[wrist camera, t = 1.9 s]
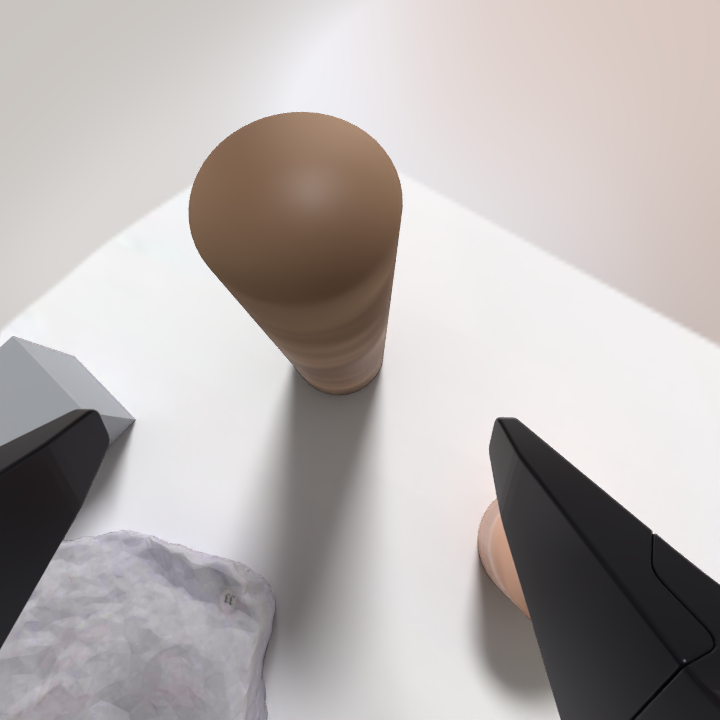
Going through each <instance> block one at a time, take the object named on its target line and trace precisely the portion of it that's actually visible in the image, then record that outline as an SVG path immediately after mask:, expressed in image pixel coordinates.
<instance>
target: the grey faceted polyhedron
mask: <svg viewBox="0 0 720 720" xmlns="http://www.w3.org/2000/svg"><path fill="white" fill-rule="evenodd" d="M75 409H95V410H97V411H98V412H99V413H100V415H101V418H102V420H103V422H104V424H105V427H106V429H107V431H108V434H109V437H110V442H109V446H110V445H111V444H112V443H113V442H114V441H115V440H116V439H117V438H118V437H119V436H120V435H121V434H122V433H123V432H124V431H125V430H126V429H127V428H128V427H129V426H130V425H131V424H132V423H133V422H134V421H135V420H136V419H135V418H134V417H133V416H132V415H131V414H130V413H129V412H128V411H127V410H126V409H125V408H124V407H123V406H122V405H121V404H120V403H119V402H118V401H117V400H116V399H115V398H114V397H113V396H112V395H111V394H110V393H109V391H108V390H107V389H106V388H105V387H104V386H103V385H102V384H101V383H100V382H99V381H98V380H97V379H96V378H95V377H94V376H93V375H92V374H91V373H90V372H89V371H88V370H87V369H86V368H85V367H84V366H83V365H82V364H81V363H80V362H79V360H78V359H77V358H76V357H75V356H72V355H69V354H66V353H63V352H60V351H57V350H54V349H51V348H48V347H45V346H42V345H39V344H36V343H33V342H30V341H27V340H24V339H21V338H18V337H15V336H12V337H11V338H10V339H9V340H8V341H7V342H6V343H4V344H3V345H2V346H1V347H0V446H2V445H4V444H6V443H8V442H10V441H12V440H14V439H16V438H18V437H20V436H22V435H24V434H26V433H28V432H30V431H32V430H34V429H36V428H38V427H40V426H42V425H44V424H46V423H48V422H50V421H52V420H54V419H56V418H58V417H60V416H62V415H64V414H66V413H68V412H70V411H72V410H75ZM109 446H108V447H109Z"/></svg>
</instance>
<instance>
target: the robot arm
mask: <svg viewBox="0 0 720 720" xmlns="http://www.w3.org/2000/svg"><path fill="white" fill-rule="evenodd" d="M109 442H110V437H109V434H108V431H107V429H106V427H105V424H104V422H103V420H102V418H101V415H100V413H99V412H98V411H97V410H95V409H75V410H72V411H70V412H68V413H66V414H64V415H62V416H60V417H58V418H56V419H54V420H52V421H50V422H48V423H46V424H44V425H42V426H40V427H38V428H36V429H34V430H32V431H30V432H28V433H26V434H24V435H22V436H20V437H18V438H16V439H14V440H12V441H10V442H8V443H6V444H4V445H2V446H0V649H1V648H2V646H3V644H4V642H5V641H6V639H7V637H8V635H9V634H10V632H11V630H12V628H13V627H14V625H15V623H16V621H17V620H18V618H19V616H20V614H21V613H22V611H23V609H24V607H25V606H26V604H27V602H28V600H29V599H30V597H31V595H32V593H33V592H34V590H35V588H36V586H37V584H38V583H39V581H40V579H41V577H42V576H43V574H44V572H45V570H46V569H47V567H48V565H49V563H50V562H51V560H52V558H53V556H54V555H55V553H56V551H57V549H58V548H59V546H60V544H61V542H62V541H63V539H64V537H65V535H66V534H67V532H68V530H69V528H70V527H71V525H72V523H73V521H74V520H75V518H76V516H77V514H78V512H79V510H80V509H81V507H82V505H83V503H84V500H85V498H86V496H87V494H88V492H89V490H90V487H91V485H92V483H93V481H94V478H95V476H96V474H97V472H98V469H99V467H100V465H101V462H102V460H103V458H104V456H105V453H106V451H107V449H108V446H109ZM489 455H490V461H491V466H492V472H493V478H494V484H495V489H496V495H497V501H498V506H499V512H500V517H501V521H502V524H503V528H504V531H505V535H506V538H507V541H508V545H509V548H510V551H511V555H512V558H513V561H514V565H515V568H516V571H517V575H518V578H519V582H520V585H521V588H522V592H523V595H524V598H525V602H526V605H527V608H528V612H529V615H530V618H531V622H532V625H533V628H534V632H535V635H536V638H537V642H538V645H539V648H540V652H541V655H542V658H543V662H544V665H545V668H546V672H547V675H548V678H549V682H550V685H551V688H552V692H553V695H554V698H555V702H556V705H557V708H558V712H559V715H560V718H561V720H720V584H718V583H717V582H716V581H714V580H713V579H712V578H710V577H709V576H708V575H706V574H705V573H704V572H703V571H701V570H700V569H699V568H698V567H696V566H695V565H694V564H693V563H691V562H690V561H689V560H688V559H686V558H685V557H684V556H683V555H681V554H680V553H679V552H678V551H676V550H675V549H674V548H673V547H671V546H670V545H669V544H668V543H667V542H665V541H664V540H663V539H662V538H661V537H659V536H658V535H657V534H653V532H652V530H651V529H650V528H648V527H647V526H646V525H645V524H643V523H642V522H641V521H640V520H639V519H637V518H636V517H635V516H634V515H633V514H631V513H630V512H629V511H628V510H627V509H625V508H624V507H623V506H622V505H621V504H619V503H618V502H617V501H616V500H615V499H613V498H612V497H611V496H610V495H608V494H607V493H606V492H605V491H604V490H602V489H601V488H600V487H599V486H598V485H596V484H595V483H594V482H593V481H592V480H590V479H589V478H588V477H587V476H586V475H584V474H583V473H582V472H581V471H580V470H578V469H577V468H576V467H575V466H573V465H572V464H571V463H570V462H569V461H567V460H566V459H565V458H564V457H563V456H561V455H560V454H559V453H558V452H557V451H555V450H554V449H553V448H552V447H551V446H549V445H548V444H547V443H546V442H545V441H543V440H542V439H541V438H540V437H538V436H537V435H536V434H535V433H534V432H532V431H531V430H530V429H529V428H528V427H526V426H525V425H524V424H523V423H522V422H520V421H519V420H518V419H516V418H511V417H499V418H497V419H496V420H495V423H494V427H493V431H492V436H491V440H490V445H489Z"/></svg>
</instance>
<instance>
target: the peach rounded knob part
mask: <svg viewBox="0 0 720 720" xmlns="http://www.w3.org/2000/svg"><path fill="white" fill-rule="evenodd" d="M478 549H479V555H480V558H481V561H482V564H483V566H484V568H485V570H486V572H487V574H488V575H489V577H490V578H491V579H492V581H493V582H494V583H495V584H496V585H497V586H498V587H499V588H500V589H501V590H502V591H503V592H504V593H505V594H506V595H507V597H508V598H509V599H510V600H511V601H512V602H513V603H514V604H515V605H516V606H517V607H518V608H519V609H520V610H521V611H522V612H523V613H524V614H525V615H526V616H527V617H528V618H529V619H530V620H531V618H530V615H529V612H528V608H527V605H526V602H525V598H524V595H523V592H522V588H521V585H520V582H519V578H518V575H517V571H516V568H515V565H514V561H513V558H512V555H511V551H510V548H509V545H508V541H507V538H506V535H505V531H504V528H503V524H502V521H501V517H500V512H499V506H498V501H497V499H496V500H495V501H493V502H492V504H491V505H490V506H489V507H488V509H487V510H486V512H485V513H484V515H483V517H482V520H481V523H480V526H479V531H478Z"/></svg>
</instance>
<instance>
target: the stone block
mask: <svg viewBox="0 0 720 720" xmlns="http://www.w3.org/2000/svg"><path fill="white" fill-rule="evenodd" d="M275 606H276V603H275V597H274V595H273V594H272V591H271V589H270V586H269V584H268V582H267V581H266V580H265V579H264V578H263V577H262V576H261V575H259V574H256V573H255V572H253V571H252V570H251V569H249V568H248V567H247V566H245V565H243V564H242V563H240V562H235V561H232V560H229V559H225V558H221V557H218V556H214V555H209V554H205V553H202V552H198V551H193V550H192V549H189V548H187V547H185V546H183V545H180V544H172V543H167V542H165V541H163V540H160V539H158V538H156V537H155V536H149V535H145V534H141V533H137V532H134V531H128V530H122V531H118V532H110V533H107V534H104V535H100V536H97V537H81V538H78V539H76V540H70V541H62V542H61V544H60V546H59V548H58V549H57V551H56V553H55V555H54V556H53V558H52V560H51V562H50V563H49V565H48V567H47V569H46V570H45V572H44V574H43V576H42V577H41V579H40V581H39V583H38V584H37V586H36V588H35V590H34V592H33V593H32V595H31V597H30V599H29V600H28V602H27V604H26V606H25V607H24V609H23V611H22V613H21V614H20V616H19V618H18V620H17V621H16V623H15V625H14V627H13V628H12V630H11V632H10V634H9V635H8V637H7V639H6V641H5V642H4V644H3V646H2V648H1V649H0V720H267V714H268V713H267V708H266V702H265V700H266V692H265V682H264V679H263V676H262V673H263V660H264V657H265V653H266V649H267V644H268V642H269V639H270V636H271V633H272V624H273V617H274V613H275Z"/></svg>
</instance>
